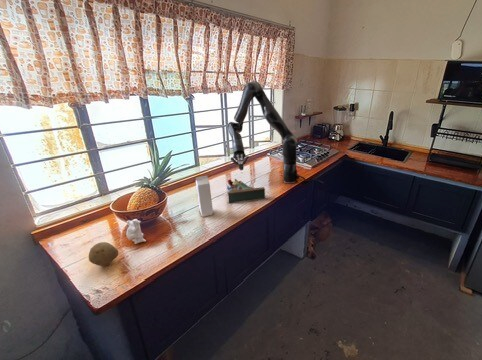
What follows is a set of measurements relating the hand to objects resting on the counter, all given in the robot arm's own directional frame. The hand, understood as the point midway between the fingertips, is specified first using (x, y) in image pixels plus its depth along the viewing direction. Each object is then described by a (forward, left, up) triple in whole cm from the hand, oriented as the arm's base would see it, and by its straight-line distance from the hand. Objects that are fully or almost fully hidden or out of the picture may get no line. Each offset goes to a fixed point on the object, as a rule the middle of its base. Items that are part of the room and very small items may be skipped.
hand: (241, 169), depth 164 cm
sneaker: (+2, +12, -13) cm, 17 cm away
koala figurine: (+54, +47, -13) cm, 73 cm away
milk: (+24, +30, -13) cm, 40 cm away
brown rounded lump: (+63, +60, -13) cm, 88 cm away
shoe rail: (0, +20, -12) cm, 24 cm away
